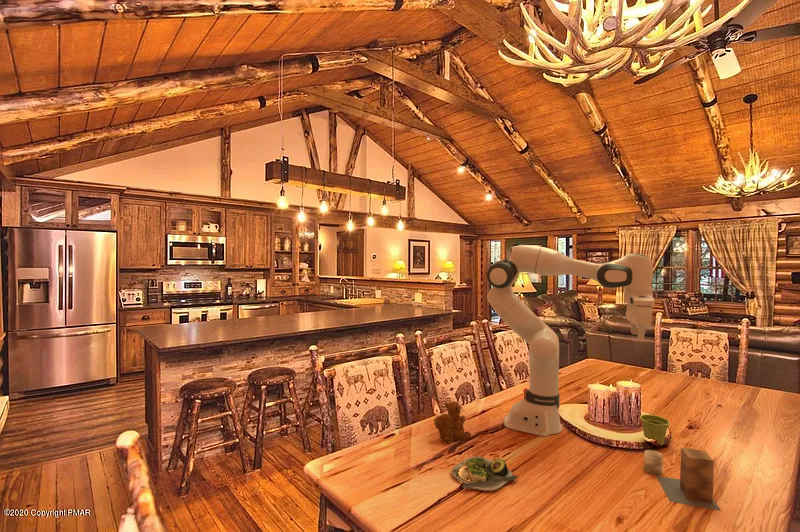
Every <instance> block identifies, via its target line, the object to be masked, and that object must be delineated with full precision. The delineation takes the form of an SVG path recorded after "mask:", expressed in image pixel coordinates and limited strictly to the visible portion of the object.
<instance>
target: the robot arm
mask: <svg viewBox="0 0 800 532" xmlns="http://www.w3.org/2000/svg"><path fill="white" fill-rule="evenodd" d="M653 265H654V264H653V261H652V258H650V256H647V254H646V255H645V254H640V253H633V252H630V253H627V254H626V255H624V256H622V257H620V258H617V259H615V260H612V261H606V262H602V263H600V262H599V263H596V262H591V261H585V260H584V261H583V260H579V259H574V258H571V257H569V256H568V255H566V254H564V253H562V252H560V251H557V250H555V249H552V248H550V247H549V248H548V247H544V246H539V245H531V244H519V245H516V246H514V248H513V249H512V251H511V252H510V255H509V258H504V259H500V260H497V261H495V262H494V263H492V264H491V265H490V266H489V268H488V269H487V272H486V280H487V281H488V283H489V285H491V286H492V287H491V288H490V289H489V290H488V292H487V294H486V300H487V302H488V303H489V305H490V306H491V308H492V310H494V311H495V314H497V315H498V316H499V317H500V319H501V320H502V321H503V322H504V324H506V325H507V327H509V328H510V329H511V331H513V332H514V333H515V334H517V335H518V336H519V337H520V338H522V339H523V340H524V341H525V342H526V343H527V344H528V345H529V346H528V352H529V353H528V354H529V355H528V356H529V358H528V359H529V361H528V363H529V389H528V387H524V388H523V389H522V391H523V398H522V399H521V400H519V401H516V402H515V403H513V404H512V405H511V408H510V411H509V413H508V414H506V415H505V416H504V417H503V425H504V427H505V428H507V429H511V430H514V431H517V432H518V431H519V432H522V433H527V434H531V435H536V436H540V437H548V436H549V435H553V434H554V435H555V434H559V433H561V432H562V431H563V427H562V424H561V423H562V422H561V419H560V410H559V409H560V403H561V402H560V401H561V399H560V397H561V395H560V393H559V379H560V377H559V375H560V373H559V371H560V340H559V336H558V334H557V333H556V332H555V331H554V330H553V329H552V328H550V326H548V324H546V323H545V322H544V321H543V320H542V319H541V318H540V317H538V315H536V313H534V312H533V311H532V309H530V308H529V306H527V305H526V304H525V303H524V302H523V300H522V299H520V298H519V296H517V294H516V293H515V292H514V291H513V287H514V285H515V283H516V282H517V280H518V278H519V275H520V273H530V274H535V275H538V276H539V275H540V276H546V277H547V276H548V277H549V276H550V277H556V276H563V275H571V276H577V277H581V278H587V279H591V280H593V281H596V282H598V284H599V285H601V286H602V287H604V288H607V289H611V290H612V289H617V288H624V290H623V292H624V293H623V302H624V303H625V304H626V316H625V317H626V320H627V321H629V324H630V325H629V326H630V330H631V331H630V333H631V334H632V335H637V339H638V340H643V341H644V340H645V334H646V332H647V331H646V330H647V329H650V328H651V327H652V323H653V313H654V312H653V310H654V309H653V307H654V306H655V304H656V301H655V298H654V296H653V293H654V290H653V289H654V288H653V286H652V283H653V279H654V267H653Z"/></svg>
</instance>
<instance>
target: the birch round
mask: <svg viewBox="0 0 800 532" xmlns="http://www.w3.org/2000/svg"><path fill="white" fill-rule="evenodd" d="M643 457H644V461H643V464H644V465H643V468H644V469H643V470H644V472H646V473H648V474H650V475H654V476H661V475H663V472H664V470H663V468H664V454H662V453H661V452H659V451H656V450H653V449H646V450H644V456H643Z"/></svg>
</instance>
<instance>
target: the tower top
mask: <svg viewBox="0 0 800 532" xmlns="http://www.w3.org/2000/svg"><path fill="white" fill-rule="evenodd" d="M714 462H715V460H714V459H713V458H712V457H711V456H710V455H709V453H708V452H707V451H706V450H701V449H700V450H699V449H695V448H687V447H680V468H681V469H682V470H683V472H684V473H685V475H686V476H687V478H691V479H697V480H703V481H709V482H713V483H714V464H715V463H714Z"/></svg>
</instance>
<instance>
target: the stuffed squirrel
mask: <svg viewBox="0 0 800 532" xmlns="http://www.w3.org/2000/svg"><path fill="white" fill-rule="evenodd" d="M443 404H444V406H445V408H446V409H447V413H442V414H441V415H438V416H436V418H434V419H433V422H434V423H433V424H434V427H435V429H437V430H438V432H439V437H440V439H441V440H442V441H444V442H446V443H448V442H450V443H449V444H451V443H453V441H465V439H466V440H468V439H469V437H470V438H471V436H472V433H471V432H469V431H465V427H464V424H465V421H466V416H465V415H461V412H462V413H463V412H464V411H465V409H464V408H463V407H462V406H461V404H460V403H459V402H457V401H455V400H454V401H453V400H452V401H450V402H446V401H445V402H444V403H443ZM460 415H461V416H460Z"/></svg>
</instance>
